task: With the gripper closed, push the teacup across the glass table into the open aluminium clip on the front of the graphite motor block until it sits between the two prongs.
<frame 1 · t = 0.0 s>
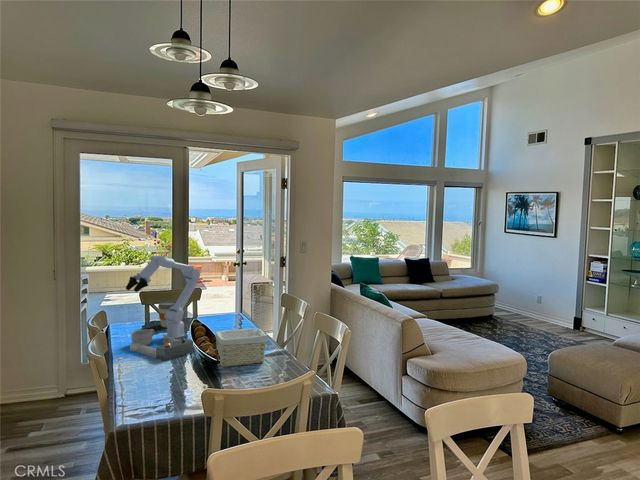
hand: (130, 290, 233), 32 cm above the table, tool tilted 50°, fingers open, 7 cm apart
reusable coffee cup: (168, 325, 282), on the table
motor block: (161, 350, 232), on the table
teacup: (144, 344, 241), on the table
storage basket: (240, 361, 218), on the table
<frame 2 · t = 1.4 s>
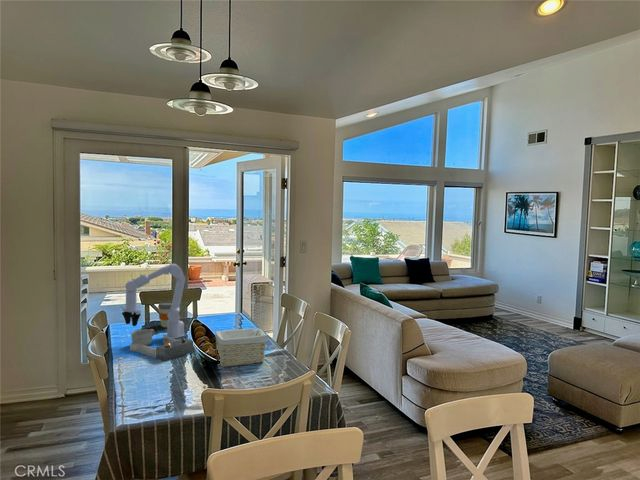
hand: (131, 324, 247), 9 cm above the table, tool pointing down, fingers open, 6 cm apart
nothing on the table moved.
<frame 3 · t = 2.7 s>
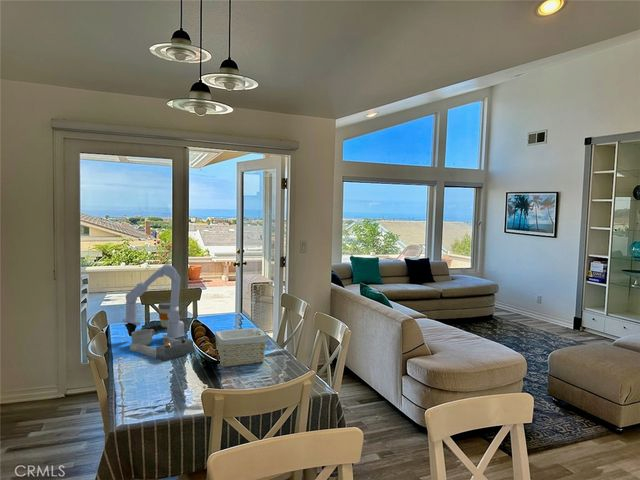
hand: (131, 335, 247), 3 cm above the table, tool pointing down, fingers closed
nothing on the table moved.
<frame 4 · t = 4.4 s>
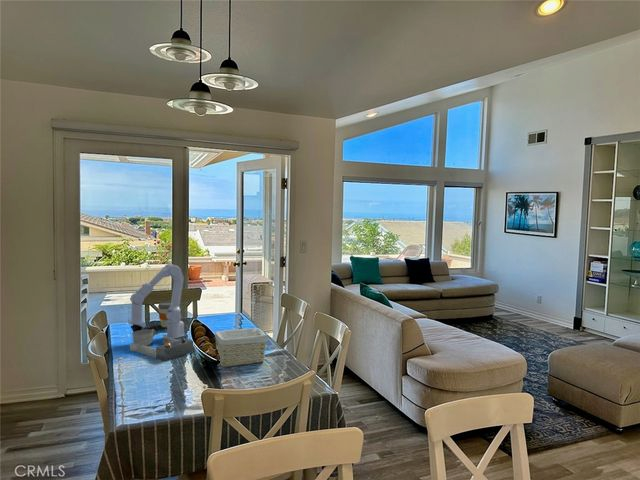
hand: (137, 337, 244), 3 cm above the table, tool pointing down, fingers closed
teacup: (145, 345, 241), on the table, touching gripper
everything else where it was.
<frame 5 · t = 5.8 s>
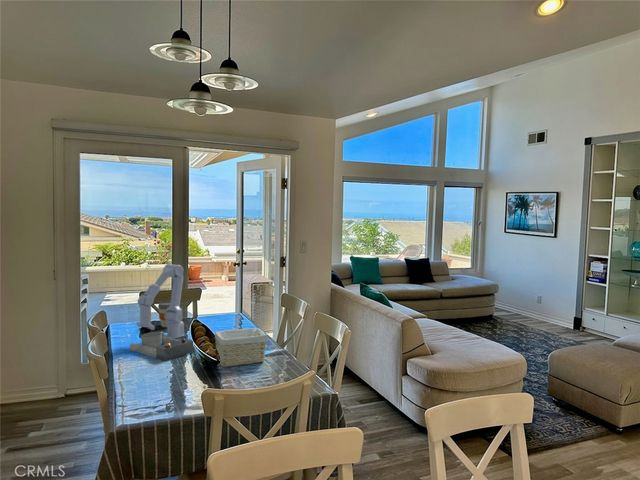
hand: (145, 340, 240), 3 cm above the table, tool pointing down, fingers closed
teacup: (154, 347, 236), on the table, touching gripper
everything else where it was.
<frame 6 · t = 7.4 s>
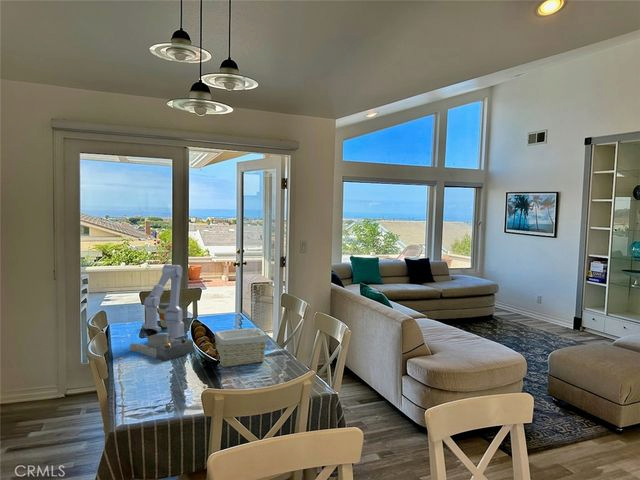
hand: (151, 342, 237), 3 cm above the table, tool pointing down, fingers closed
teacup: (160, 349, 233), on the table, touching gripper
everything else where it was.
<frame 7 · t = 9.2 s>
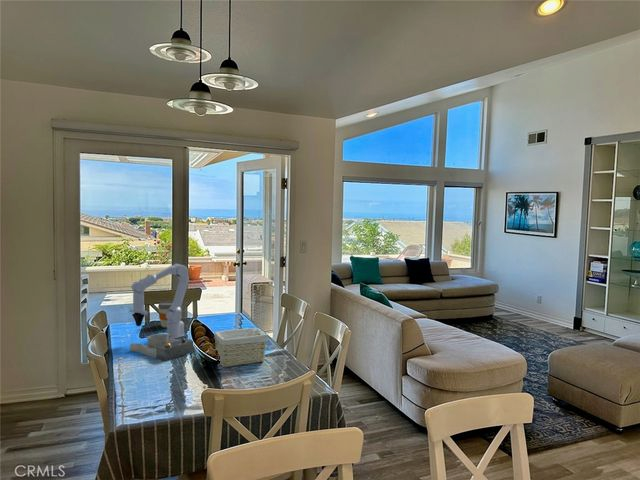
hand: (138, 325, 244), 10 cm above the table, tool pointing down, fingers closed
teacup: (160, 350, 233), on the table
everything else where it was.
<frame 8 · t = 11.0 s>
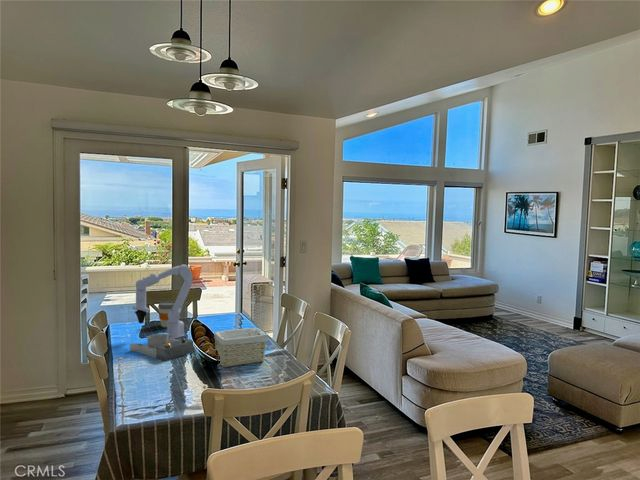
hand: (141, 322, 250), 10 cm above the table, tool pointing down, fingers closed
nothing on the table moved.
at the end: teacup inside the target area (0.9 cm from its centre), on the table; teacup tilted 0° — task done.
